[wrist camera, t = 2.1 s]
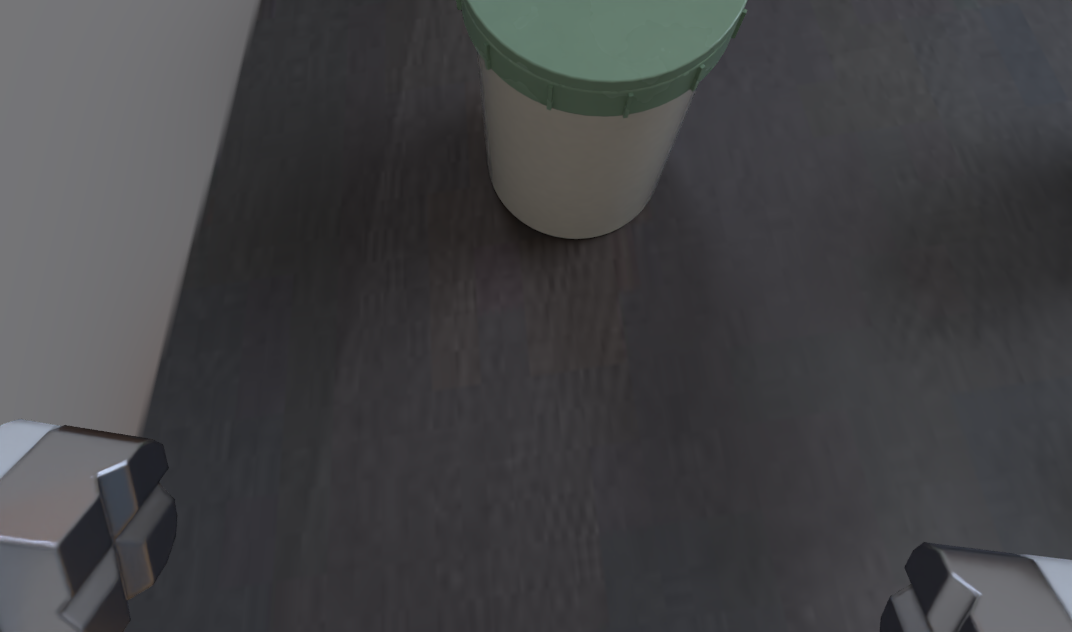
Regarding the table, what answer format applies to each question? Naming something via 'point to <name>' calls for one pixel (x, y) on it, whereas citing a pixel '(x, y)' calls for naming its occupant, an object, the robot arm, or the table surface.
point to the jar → (574, 159)
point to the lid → (602, 49)
